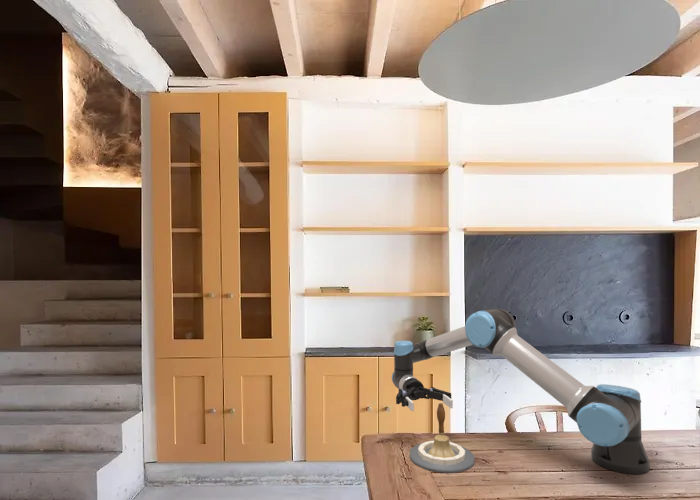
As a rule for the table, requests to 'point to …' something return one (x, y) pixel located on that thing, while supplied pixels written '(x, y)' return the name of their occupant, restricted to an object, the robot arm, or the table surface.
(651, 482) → the table surface
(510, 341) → the robot arm
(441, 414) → the hand bell
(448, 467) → the ring tray
